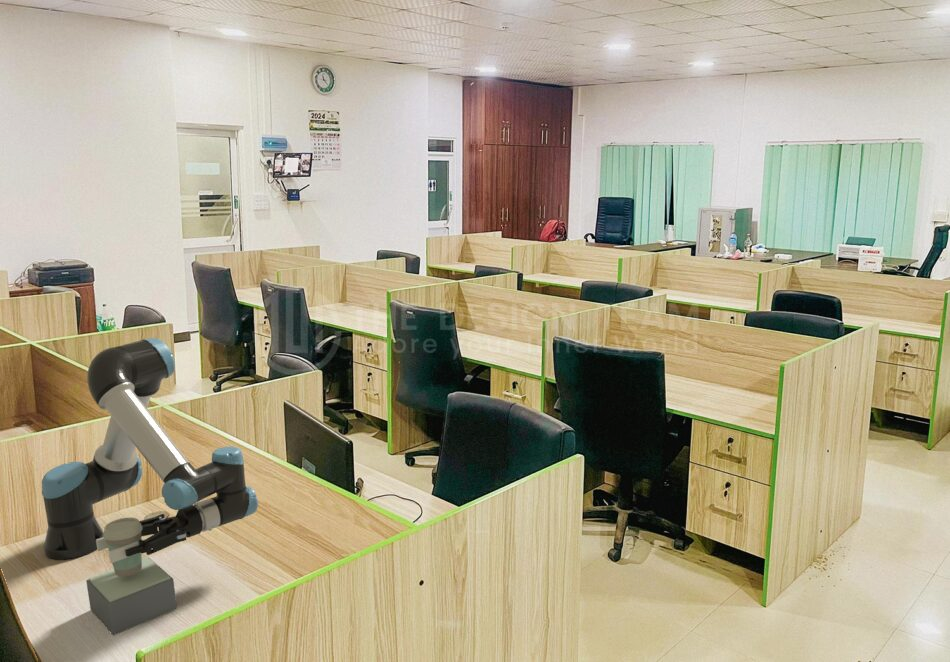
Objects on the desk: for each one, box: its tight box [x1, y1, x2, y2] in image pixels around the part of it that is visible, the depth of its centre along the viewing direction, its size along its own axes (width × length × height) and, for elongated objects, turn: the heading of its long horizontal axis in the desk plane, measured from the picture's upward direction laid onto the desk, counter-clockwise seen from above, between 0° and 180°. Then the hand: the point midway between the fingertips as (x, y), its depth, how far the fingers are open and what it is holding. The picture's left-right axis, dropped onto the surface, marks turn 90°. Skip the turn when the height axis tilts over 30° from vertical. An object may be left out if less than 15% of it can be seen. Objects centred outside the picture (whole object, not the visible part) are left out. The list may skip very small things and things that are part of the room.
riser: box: [85, 556, 178, 636], centre depth 187 cm, size 15×15×9 cm
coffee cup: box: [103, 517, 143, 577], centre depth 184 cm, size 8×8×12 cm
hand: (103, 551), depth 181 cm, fingers closed on coffee cup, 8 cm apart
